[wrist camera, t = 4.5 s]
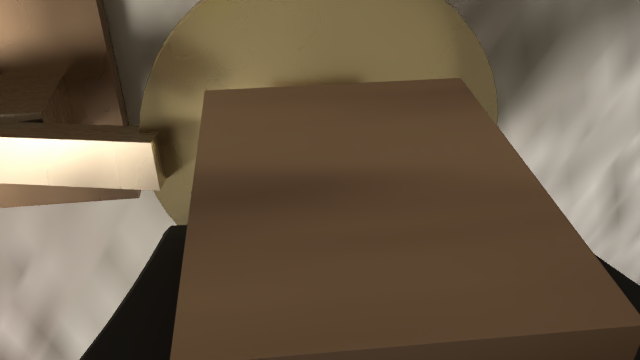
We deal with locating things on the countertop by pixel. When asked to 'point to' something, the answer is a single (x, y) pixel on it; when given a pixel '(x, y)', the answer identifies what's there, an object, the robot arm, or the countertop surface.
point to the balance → (192, 84)
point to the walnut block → (381, 235)
